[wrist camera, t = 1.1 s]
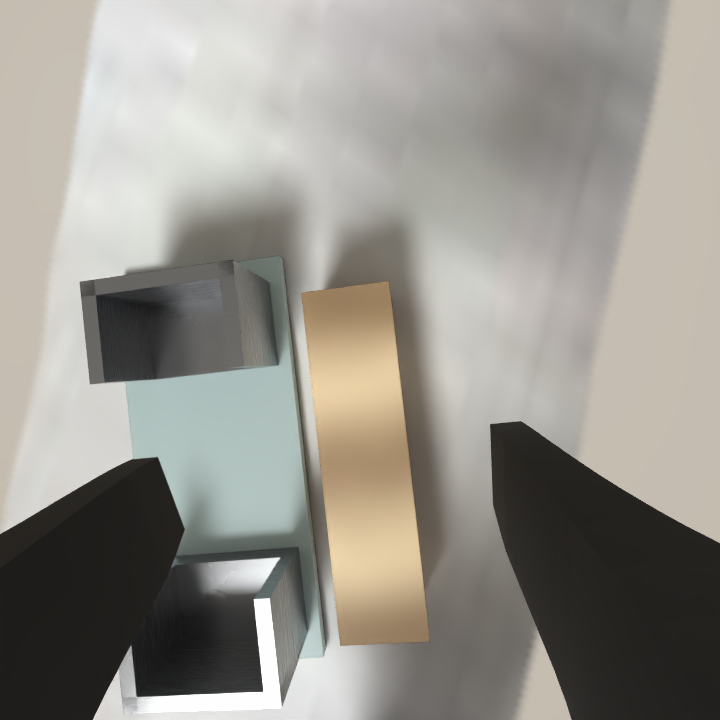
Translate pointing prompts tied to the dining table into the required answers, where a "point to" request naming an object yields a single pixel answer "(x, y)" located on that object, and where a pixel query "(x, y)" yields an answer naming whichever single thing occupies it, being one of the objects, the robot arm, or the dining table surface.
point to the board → (236, 455)
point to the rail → (365, 465)
